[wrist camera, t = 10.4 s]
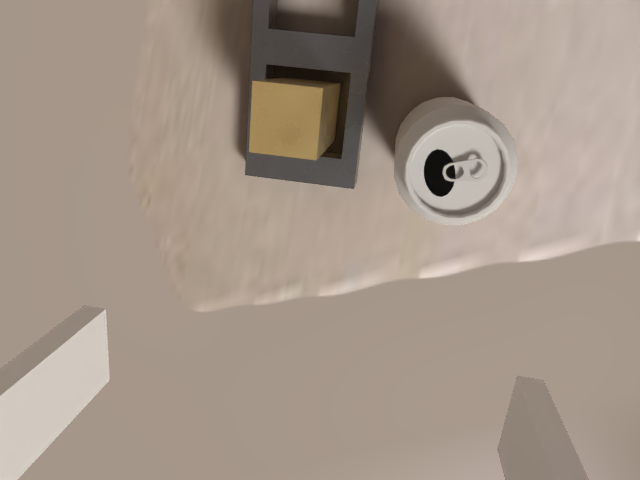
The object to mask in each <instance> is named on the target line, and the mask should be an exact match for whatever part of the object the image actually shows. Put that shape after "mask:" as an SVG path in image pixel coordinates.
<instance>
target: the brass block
mask: <svg viewBox="0 0 640 480" xmlns="http://www.w3.org/2000/svg"><path fill="white" fill-rule="evenodd" d="M340 86H341V83H334V82H325V81H315V80H306V79H296V78H287V77H285V78H274V79H264V80H254V81H252V99H251V120H250V141H249V152H252V153H260V154H268V155H276V156H285V157H293V158H301V159H309V160H317V159H318V158H319V157H320V156H321V155H322V154H323V152H324V151H325V150H326V149H327V148H328V147H329V146H330V145H331V143H332V142H333V141H334V140H335V135H336V125H337V115H338V106H339V96H340Z"/></svg>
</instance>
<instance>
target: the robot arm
mask: <svg viewBox="0 0 640 480" xmlns="http://www.w3.org/2000/svg"><path fill="white" fill-rule="evenodd" d="M108 381H109V361H108V342H107V324H106V309H102V308H96V307H90V306H83V307H81V308H80V309H79V310H77V311H76V312H75V313H73V314H72V315H71V316H69V317H68V318H67V319H65V320H64V321H63V322H61V323H60V324H59V325H58V326H56V327H55V328H53V329H52V330H51V331H50V332H48V333H47V334H46V335H44V336H43V337H42V338H40V339H39V340H38V341H37V342H35V343H34V344H32V345H31V346H30V347H28V348H27V349H26V350H24V351H23V352H22V353H20V354H19V355H18V356H16V357H15V358H14V359H12V360H11V361H10V362H8V363H7V364H6V365H4V366H3V367H2V368H1V369H0V480H17V479H18V478H19V477H20V476H21V475H22V474H23V473H24V472H25V471H26V470H27V469H28V468H29V466H30V465H31V464H32V463H33V462H34V461H35V460H36V459H37V458H38V457H39V456H40V455H41V453H42V452H43V451H44V450H45V449H46V448H47V447H48V446H49V445H50V444H51V443H52V442H53V440H54V439H55V438H56V437H57V436H58V435H59V434H60V433H61V432H62V431H63V430H64V429H65V428H66V426H67V425H68V424H69V423H70V422H71V421H72V420H73V419H74V418H75V417H76V416H77V415H78V414H79V412H80V411H81V410H82V409H83V408H84V407H85V406H86V405H87V404H88V403H89V402H90V401H91V399H92V398H93V397H94V396H95V395H96V394H97V393H98V392H99V391H100V390H101V389H102V387H103V386H104V385H105V384H106V383H107V382H108ZM498 453H499V457H500V461H501V465H502V468H503V473H504V476H505V480H589V479H588V477H587V474H586V472H585V470H584V468H583V466H582V464H581V461H580V459H579V457H578V455H577V453H576V450H575V448H574V446H573V444H572V442H571V439H570V437H569V435H568V433H567V431H566V429H565V426H564V424H563V422H562V420H561V418H560V415H559V413H558V411H557V409H556V407H555V404H554V402H553V400H552V398H551V396H550V393H549V391H548V389H547V387H546V385H545V383H544V381H543V380H540V379H534V378H527V377H521V376H517V378H516V381H515V385H514V389H513V393H512V397H511V401H510V404H509V408H508V412H507V415H506V419H505V423H504V427H503V431H502V434H501V438H500V442H499V446H498Z"/></svg>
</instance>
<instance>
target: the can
mask: <svg viewBox="0 0 640 480" xmlns="http://www.w3.org/2000/svg"><path fill="white" fill-rule="evenodd" d="M517 167H518V155H517V151H516V146H515V142H514V139H513V138H512V136H511V135H510V133H509V131H508V130H507V128H506V127H505V125H504V124H503V123H502V122H500V121H499V120H498V119H497V118H495V117H494V116H493V115H491V114H490V113H489V112H487V111H485V110H483V109H481V108H479V107H477V106H475V105H473V104H471V103H470V102H467V101H464V100H461V99H458V98H455V97H437V98H434V99H431V100H428V101H425V102H422V103H421V104H420V105H418V106H417V107H415V108H414V109H413V110H411V111H410V112H409V113H408V115H407V116H406V117H405V119H404V120H403V121H402V123H401V125H400V127H399V130H398V133H397V136H396V142H395V159H394V178H395V181H396V185H397V188H398V191H399V194H400V195H401V197H402V198H403V200H404V201H405V202H406V204H407V205H408V207H409V208H410V209H411V210H413V211H414V212H415V213H417V214H418V215H419V216H421V217H422V218H424V219H426V220H429V221H432V222H435V223H438V224H441V225H463V224H467V223H470V222H474V221H478V220H480V219H481V218H483V217H485V216H486V215H488V214H490V213H491V212H493V211H495V210H496V209H497V208H498V206H499V205H500V204H501V203H502V202H503V201H504V200H505V199H506V197H507V196H508V195H509V193H510V191H511V188H512V186H513V184H514V182H515V180H516V176H517Z"/></svg>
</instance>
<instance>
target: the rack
mask: <svg viewBox="0 0 640 480" xmlns="http://www.w3.org/2000/svg"><path fill="white" fill-rule="evenodd" d="M277 4H278V0H253V14H252V36H251V58H250V80H249V102H248V124H247V146H246V168H245V175H249V176H257V177H265V178H272V179H280V180H288V181H296V182H304V183H312V184H319V185H327V186H335V187H343V188H351V189H354V187H355V185H356V182H357V173H358V165H359V157H360V149H361V140H362V132H363V124H364V116H365V107H366V99H367V91H368V82H369V74H370V66H371V58H372V49H373V41H374V33H375V25H376V16H377V8H378V0H359V4H358V13H357V22H356V31H355V37H349V36H339V35H328V34H317V33H307V32H296V31H286V30H276V21H277ZM274 65H278V66H288V67H298V68H308V69H317V70H327V71H337V72H347V73H351V77H350V86H349V95H348V105H347V114H346V123H345V132H344V141H343V150H342V154H340V153H331V152H323V154H322V155H321V156H320V157H319V158H318V159H317V160H309V159H301V158H293V157H285V156H276V155H268V154H260V153H252V152H249V141H250V120H251V99H252V81H254V80H264V79H273V71H274Z"/></svg>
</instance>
